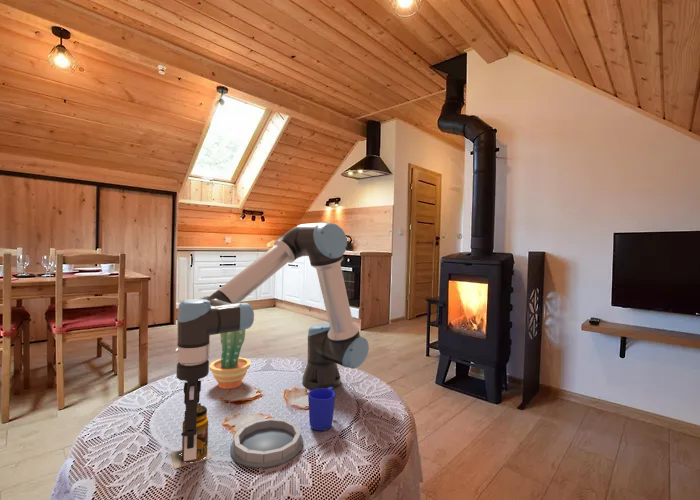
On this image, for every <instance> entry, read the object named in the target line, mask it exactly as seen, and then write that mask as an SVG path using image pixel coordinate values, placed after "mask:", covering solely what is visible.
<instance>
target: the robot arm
mask: <svg viewBox="0 0 700 500" xmlns="http://www.w3.org/2000/svg"><path fill="white" fill-rule="evenodd" d="M347 247H348V239H347V236H346V233H345V231H344V230H343V228H341V226H339V225H338V224H336V223H334V222H325V221H324V222H313V223H312V222H311V223H309V222H307V223H302V224H298V225H297V226H294V227H293V228H291V229H289V230H288V231H286V233H284V234H282V235H281V236H280V237H279V238H278V239H276V240H275V241H274V242H273V246H272V247H271V248H269V249H268V250H266V251H265V252H264V253H263V254H261V256H259V257H258V258H256V259H255V260H254V261H253V262H252V263H250V264H249V265H248V266H246V267H245V268H244V269H242V270H241V271H240V272H239V273H237V274H236V275H235V276H234V277H232V278H231V279H230V280H229V281H227V282H226V283H225V284H224V285H223V286H221V287H220V288H218V289H217V290H216V291H215V292H213V293H212V294H211V295H209V296H202V297H200V298H197V299H195V298H194V299H193V298H191V299H185V300H182V301H181V302H180V303H179V305H178V309H177V318H176V322H177V346H176V349H174V353H175V354H177V355H176V361H177V363H176V378H177V379H178V380H179V381H184V382H183V384H184V386H183V394H184V398H183V401H184V402H183V404H184V405H185V411H186V412H185V411H184V413H185V414H184V417H185V431H184V432H183V433H182V432H180V433H181V437H182V436H184V461H188V460H193V459H196V451H197V429H196V423H197V405H202V403H201V402H200V398H201V397H200V394H201V391H202V380H201V379H204V378H206V377H207V376H208V375H209V372H210V371H209V370H210V368H209V366H210V360H209V358H210V344H211V343H210V339H211V338H210V337H211V336H213V335H214V336H215V335H220V334H221V333H227V332H234V331H240V330H244V329H246V330H247V329H249V328H251V327H252V326H253V324H254V321H255V313H254V309H253V307H252V305H251V304H249V303H248V302H243V301H244V300H245V299H246V298H248V296H249V295H251V294H252V293H253V292H255V291H256V290H257V289H258V288H260V287H261V285H263V284H264V283H265V282H266V281H267V280H269V279H270V278H271V277H272V276H274V275H275V274H276V273H277V272H278V271H280V269H282V268H283V267H285V266H286V265H287V264H288V263H291V264H293V262H294V261H297V259H299V258H302V257H308V259H309V264H310V266H311V267H313V269H316V274H317V277H318V281H319V282H318V283H319V286H320V291H321V295H322V299H323V302H324V303H323V304H324V307H325V311H326V312H325V313H326V316H327V321H328V323H322V324H320V323H319V324H314V325H312V326H309V328H308V332H307V362H306V363H307V364H306V366H305V369H304V372H303V375H302V381H301V382H302V385H303V386H304V387H305V388H307V389H309V390H310V389H311V390H314V389H318V388H326V389H327V388H329V387H333V389H335V388H337V387H339V386H340V385H341V373H340V371H339V370H340V369H339V367H338V365H340V366H342V367H344V368H349V369H352V370H353V369H358V368H359V367H361V366H362V364H364V362H365V361H366V359H367V356H368V355H369V349H370V348H369V347H370V345H369V341H368V339H366V338H365V337H363V336H361V333H360V329H359V326H358V325H357V324H355V323H354V321H353V315H352V312H351V307H350V303H349V297H348V294H347V292H348V291H347V288H346V284H345V280H344V275H343V271H342V270H343V269H342V266H341V265H342V264H341V263H342V261H344V254H345V253H346V251H347Z"/></svg>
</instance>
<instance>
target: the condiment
mask: <svg viewBox="0 0 700 500" xmlns="http://www.w3.org/2000/svg"><path fill="white" fill-rule="evenodd" d="M185 412H186V410H185V411H184V415H185ZM207 415H208V408H207V407H206V406H205V405H202V404H201V405H197V423H196V429H197V451H196V459H193V460H188V461H184V436H181V437H182V438H181V439H182V441H181V449H180V450H174V451H172V452H170V455H171V459H172V464H173V469H174V470H176V469H179V468H182V467H185V466H189V465H192V464H193V465H194V464H196V463H201V462H203V461H206V460H210V459H211V458H212V456H211V453H210V450H209V449H208V445H209V417H208V416H207ZM183 419H184V420H183V422H182V430H181V431H182V432H181V433H183V432H184V431H185V416H184V417H183ZM181 453H182V454H181ZM179 454H181V455H182V456H181V455H179ZM204 457H206V458H205V459H203V458H204ZM201 459H202V460H201ZM196 461H197V462H196ZM184 462H186V463H184ZM190 462H193V463H190Z"/></svg>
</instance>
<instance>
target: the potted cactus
mask: <svg viewBox="0 0 700 500" xmlns="http://www.w3.org/2000/svg"><path fill="white" fill-rule="evenodd" d="M246 330H247V329H244V330H240V331H234V332H227V333H221V334H219V335H220V344H221V355H220V356H221V357H220V359H216V360H214V361H212V362H210V363H209V370H210V371H209V372H211V373H212V375H213V376H212V377H213V378H214V379H215V381H216V382H217V387H218V388H219V389H225V390H226V389H234V388H238V387H240V386H241V385H242V384H243V381H244V378H245V377H246V374H247V371H248V370H249V369H250V366H251V362H252V361H251V360H250V359H248V358H246V357H245V358H244V357H240V353H241V350H242V346H243V344H244V342H245V337H246Z"/></svg>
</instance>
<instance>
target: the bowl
mask: <svg viewBox="0 0 700 500" xmlns="http://www.w3.org/2000/svg"><path fill="white" fill-rule="evenodd" d="M303 440H304V439H303V436H302V434H301V431H300V429H299V427H298V425H297V424H296V423H294V422H292V421H290V420H287V419H286V418H285V419H283V418H272V417H269V418H263V419H258V420H257V419H256V420H253V421H252V422H249V423H246V424H245V425H242V426H241V427H240V428H239V429H238V431H237V432H236V433H235V434H234V435H233V441H232V442H231V445H230V455H231V458H232V459H233V461H235V462H236V463H237V464H239V465H241V466H243V467H247V468H251V469H252V468H253V469H267V468H272V467H278V466H281V465H283V464H285V463H288V462H290V461H291V460H293V459H294V458H296V457H297V456H298V455H299V454H300V453H301V450H302V449H303V446H304V445H303V442H304V441H303Z"/></svg>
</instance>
